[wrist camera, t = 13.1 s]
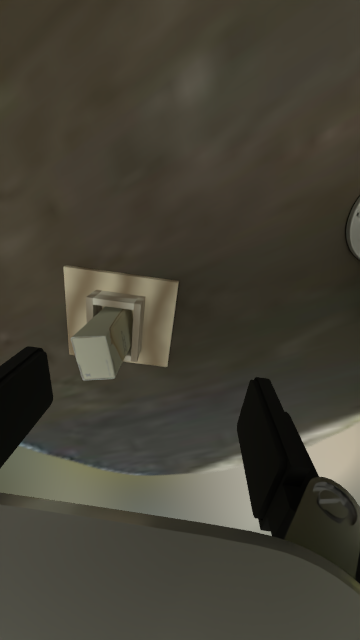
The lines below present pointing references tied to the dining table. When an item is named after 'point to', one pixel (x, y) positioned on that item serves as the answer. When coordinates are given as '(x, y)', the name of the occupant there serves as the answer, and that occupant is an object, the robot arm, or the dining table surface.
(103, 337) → the skincare box
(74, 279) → the socket stand
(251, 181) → the dining table surface
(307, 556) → the robot arm
